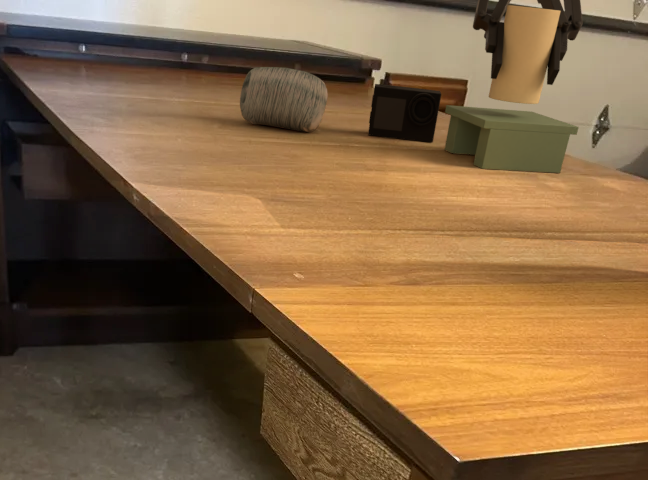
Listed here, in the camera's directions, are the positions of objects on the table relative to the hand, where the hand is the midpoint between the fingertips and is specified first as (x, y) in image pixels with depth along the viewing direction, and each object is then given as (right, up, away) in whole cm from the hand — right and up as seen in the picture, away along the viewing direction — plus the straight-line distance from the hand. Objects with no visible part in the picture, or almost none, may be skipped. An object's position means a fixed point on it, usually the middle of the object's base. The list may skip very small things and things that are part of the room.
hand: (524, 74), depth 110 cm
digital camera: (-14, +1, +20) cm, 24 cm away
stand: (-1, -8, +9) cm, 12 cm away
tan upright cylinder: (0, -1, +5) cm, 5 cm away
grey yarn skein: (-33, +1, +17) cm, 37 cm away
